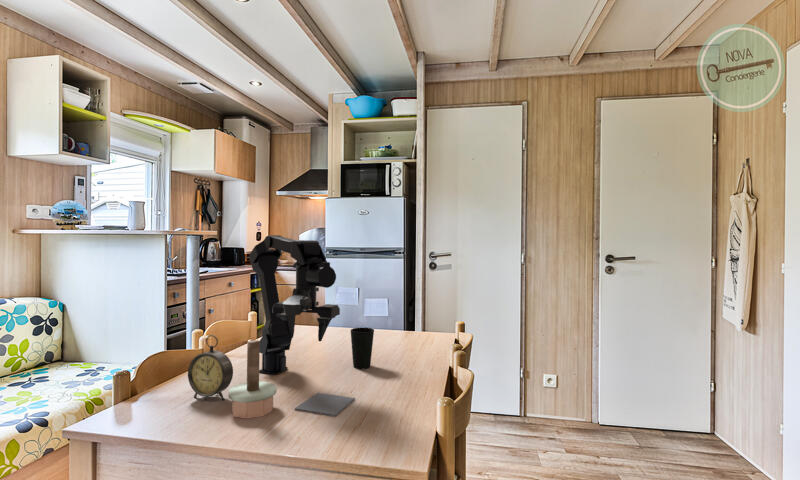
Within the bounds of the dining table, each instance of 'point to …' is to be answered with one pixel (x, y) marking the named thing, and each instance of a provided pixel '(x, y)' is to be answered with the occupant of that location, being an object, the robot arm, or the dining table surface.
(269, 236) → the robot arm
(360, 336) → the cup
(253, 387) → the wooden peg on disc
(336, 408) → the mat
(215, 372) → the alarm clock
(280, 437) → the dining table surface
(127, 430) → the dining table surface
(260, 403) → the bowl
